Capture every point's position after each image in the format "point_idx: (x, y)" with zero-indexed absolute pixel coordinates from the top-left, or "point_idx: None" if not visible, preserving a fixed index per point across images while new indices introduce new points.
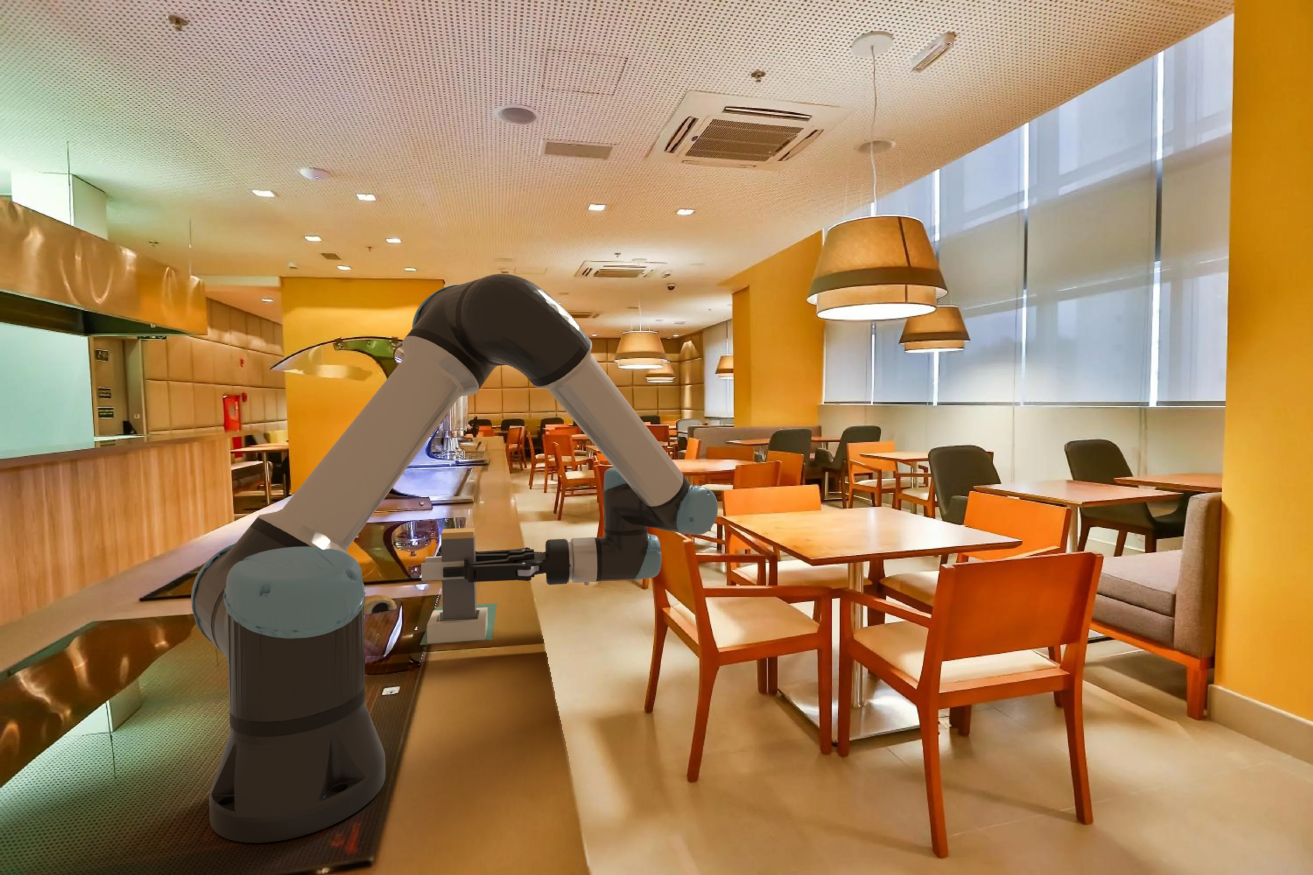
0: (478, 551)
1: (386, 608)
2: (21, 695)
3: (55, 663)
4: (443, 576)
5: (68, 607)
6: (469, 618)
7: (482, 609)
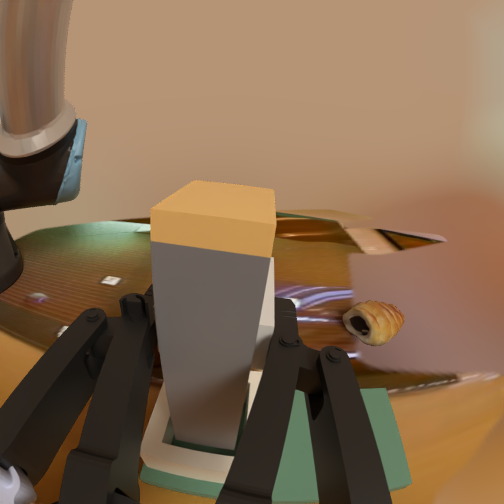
0: (349, 364)
1: (368, 331)
2: None
3: None
4: None
5: (359, 216)
6: None
7: None
